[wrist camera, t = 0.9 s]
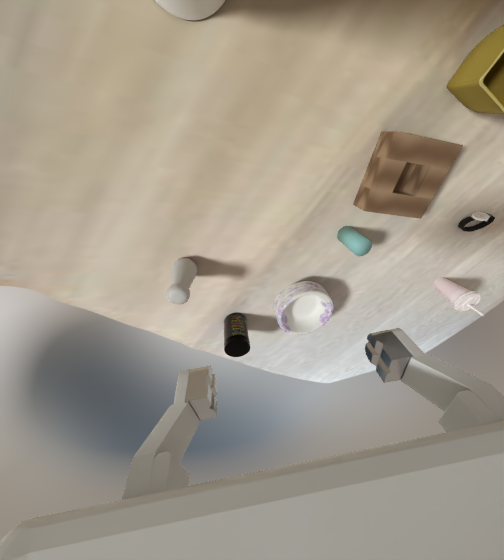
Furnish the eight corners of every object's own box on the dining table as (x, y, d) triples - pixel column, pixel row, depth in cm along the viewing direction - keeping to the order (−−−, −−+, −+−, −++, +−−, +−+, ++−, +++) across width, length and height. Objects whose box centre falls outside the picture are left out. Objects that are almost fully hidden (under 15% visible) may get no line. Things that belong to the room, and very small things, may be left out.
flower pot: (474, 29, 36) (539, 3, 29) (500, 63, 39) (565, 48, 32) (430, 91, 40) (478, 82, 33) (457, 118, 43) (507, 115, 36)
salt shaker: (200, 257, 53) (195, 289, 43) (195, 277, 56) (190, 311, 45) (175, 251, 52) (164, 283, 41) (171, 272, 54) (160, 306, 44)
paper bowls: (326, 305, 67) (338, 324, 61) (279, 322, 69) (285, 342, 62) (318, 266, 59) (330, 283, 52) (264, 286, 60) (270, 304, 54)
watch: (489, 208, 56) (504, 212, 53) (481, 226, 58) (495, 231, 55) (459, 214, 56) (473, 219, 53) (452, 231, 58) (465, 237, 55)
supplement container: (221, 314, 64) (221, 342, 56) (243, 309, 64) (247, 337, 56) (226, 330, 68) (227, 359, 59) (248, 325, 68) (252, 354, 59)
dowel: (340, 225, 53) (358, 238, 46) (355, 226, 54) (375, 240, 47) (335, 240, 55) (350, 255, 49) (349, 242, 56) (366, 256, 49)
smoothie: (425, 291, 69) (466, 323, 58) (435, 274, 66) (481, 304, 54) (443, 290, 70) (487, 322, 58) (454, 273, 66) (503, 303, 55)
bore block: (381, 131, 43) (398, 131, 39) (440, 144, 46) (462, 145, 41) (353, 204, 50) (364, 211, 46) (405, 211, 53) (420, 218, 49)
